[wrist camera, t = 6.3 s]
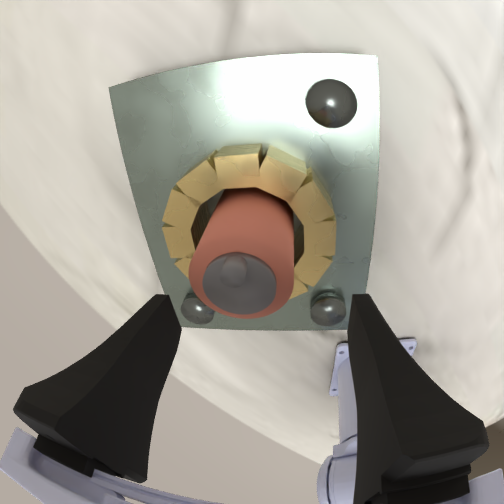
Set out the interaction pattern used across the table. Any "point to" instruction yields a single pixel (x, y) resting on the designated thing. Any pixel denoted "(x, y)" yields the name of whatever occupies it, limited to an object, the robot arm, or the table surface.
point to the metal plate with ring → (259, 171)
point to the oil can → (245, 255)
